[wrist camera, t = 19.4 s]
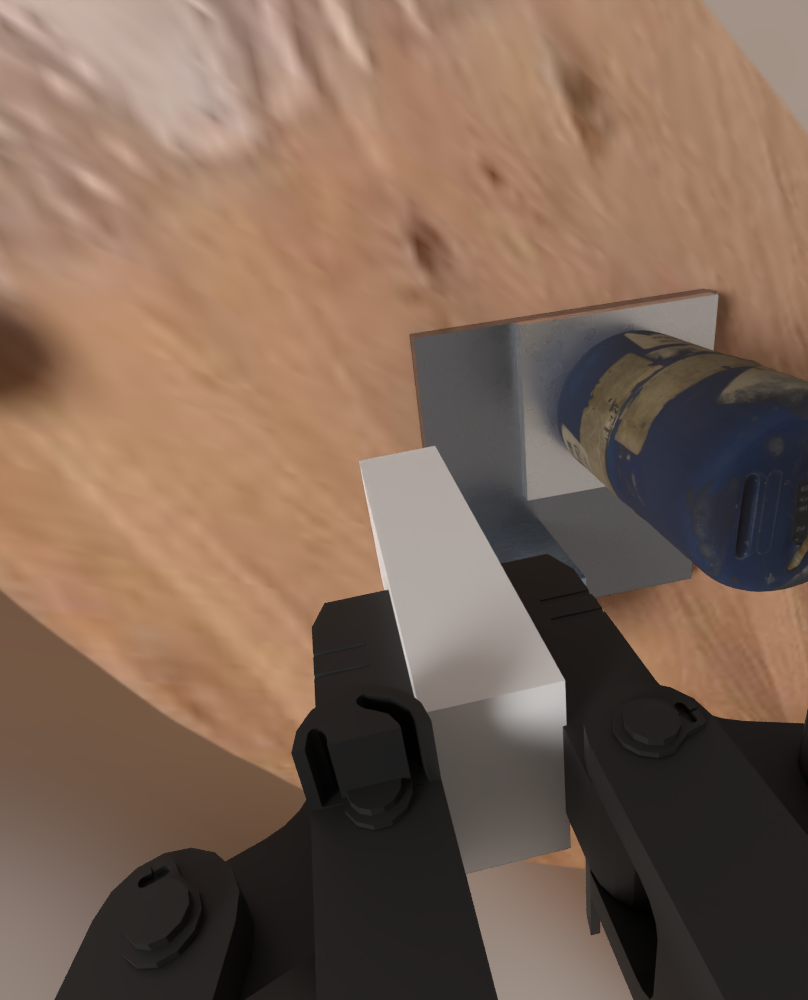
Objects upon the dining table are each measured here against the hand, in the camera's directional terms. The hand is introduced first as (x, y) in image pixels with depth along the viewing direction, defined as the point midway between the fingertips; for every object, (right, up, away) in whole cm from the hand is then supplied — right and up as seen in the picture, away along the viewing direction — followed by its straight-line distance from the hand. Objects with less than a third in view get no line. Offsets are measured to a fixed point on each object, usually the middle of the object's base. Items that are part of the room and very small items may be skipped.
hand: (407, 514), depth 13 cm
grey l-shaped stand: (+11, +3, +33) cm, 35 cm away
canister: (+14, +7, +29) cm, 33 cm away
